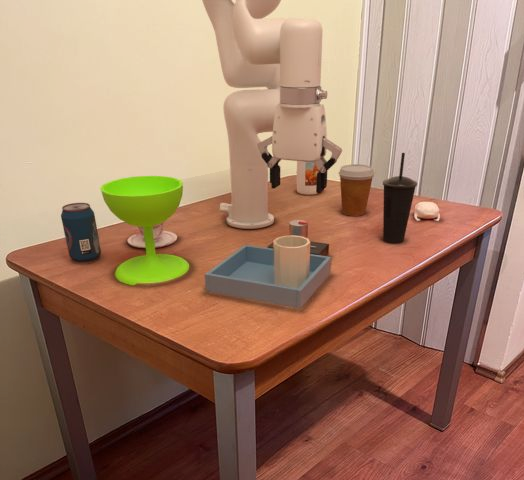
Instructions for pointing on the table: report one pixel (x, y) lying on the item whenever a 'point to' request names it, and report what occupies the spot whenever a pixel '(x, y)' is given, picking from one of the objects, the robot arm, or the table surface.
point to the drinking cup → (397, 205)
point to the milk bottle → (306, 177)
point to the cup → (291, 260)
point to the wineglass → (146, 224)
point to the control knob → (298, 228)
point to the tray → (263, 277)
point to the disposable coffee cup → (355, 188)
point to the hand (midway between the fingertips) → (297, 189)
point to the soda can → (81, 233)
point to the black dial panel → (315, 248)
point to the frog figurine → (426, 211)
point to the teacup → (159, 236)
